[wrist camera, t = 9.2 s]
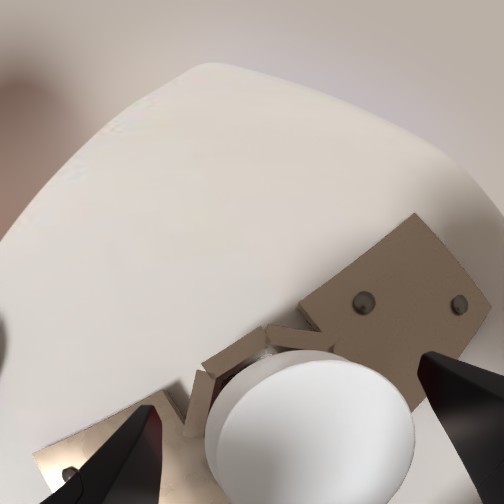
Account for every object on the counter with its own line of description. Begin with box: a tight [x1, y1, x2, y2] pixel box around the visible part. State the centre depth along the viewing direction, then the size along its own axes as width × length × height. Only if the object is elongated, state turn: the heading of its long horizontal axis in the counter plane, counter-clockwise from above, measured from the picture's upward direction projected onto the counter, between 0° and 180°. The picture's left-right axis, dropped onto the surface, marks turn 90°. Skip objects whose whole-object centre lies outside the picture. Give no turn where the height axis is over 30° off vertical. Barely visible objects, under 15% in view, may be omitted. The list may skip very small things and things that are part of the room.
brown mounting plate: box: [32, 213, 491, 504], centre depth 13 cm, size 34×10×3 cm, turn 124°
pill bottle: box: [205, 350, 415, 504], centre depth 10 cm, size 6×6×11 cm
